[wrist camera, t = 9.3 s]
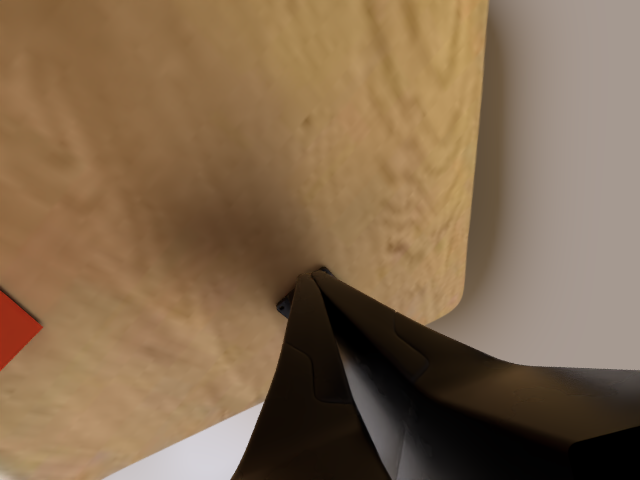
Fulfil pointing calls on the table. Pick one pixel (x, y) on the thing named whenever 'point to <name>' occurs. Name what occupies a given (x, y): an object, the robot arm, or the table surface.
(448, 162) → the table surface
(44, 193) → the table surface
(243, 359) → the table surface
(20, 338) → the file binder
